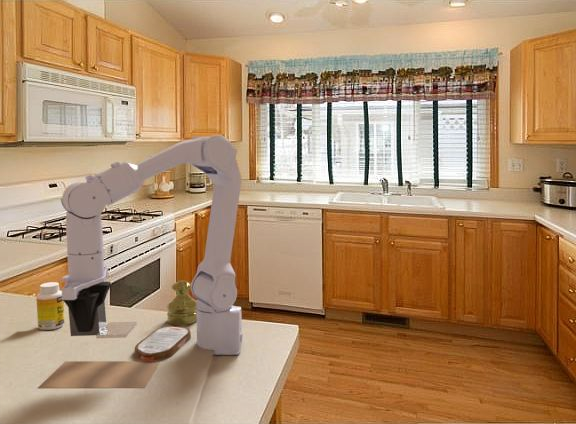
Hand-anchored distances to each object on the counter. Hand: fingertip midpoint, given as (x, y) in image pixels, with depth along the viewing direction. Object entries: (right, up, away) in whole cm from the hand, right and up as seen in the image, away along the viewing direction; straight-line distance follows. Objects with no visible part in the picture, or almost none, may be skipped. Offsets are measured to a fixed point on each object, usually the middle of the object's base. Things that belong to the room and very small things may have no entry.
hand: (89, 327), depth 81 cm
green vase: (+9, -7, +31) cm, 33 cm away
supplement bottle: (-20, -7, +27) cm, 34 cm away
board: (+2, -10, +1) cm, 10 cm away
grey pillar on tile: (+2, -1, 0) cm, 3 cm away
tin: (+5, -7, +15) cm, 17 cm away
